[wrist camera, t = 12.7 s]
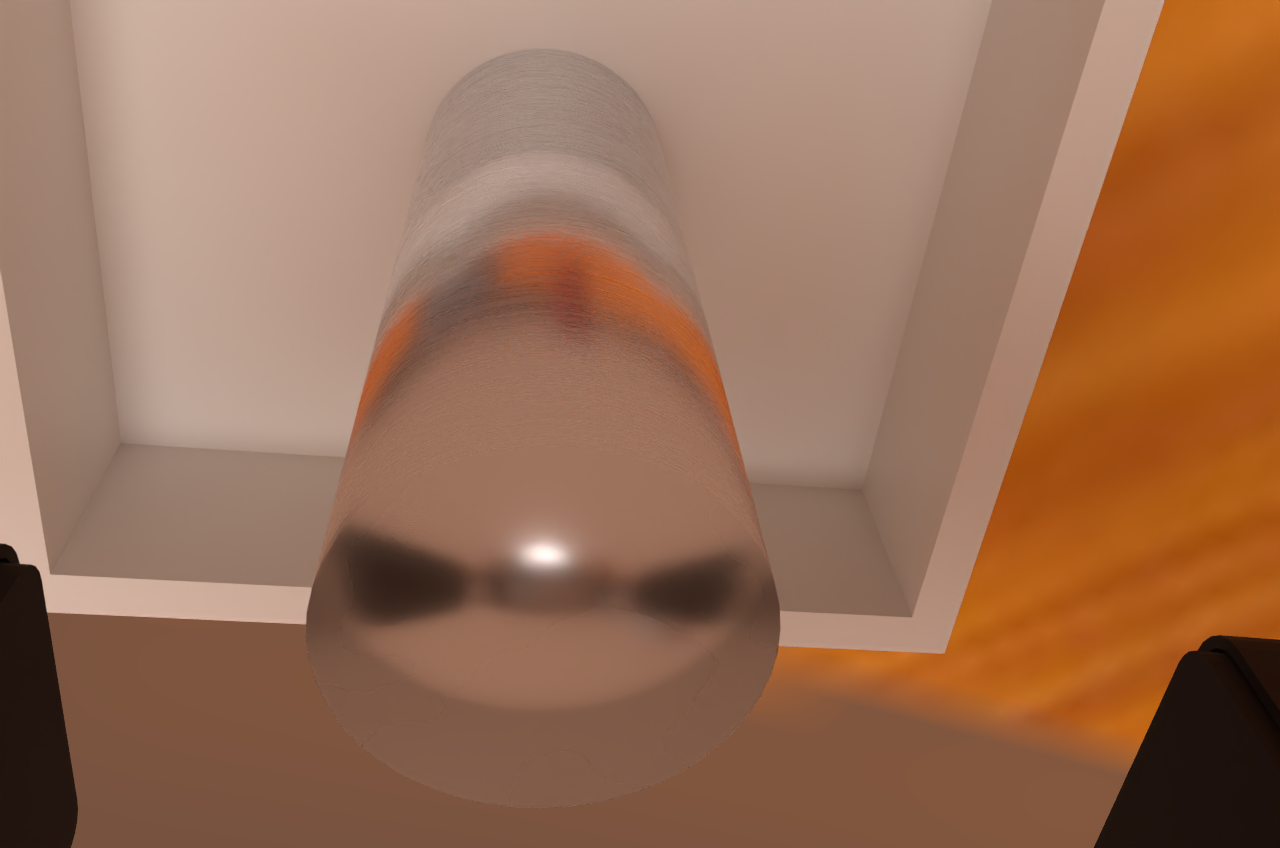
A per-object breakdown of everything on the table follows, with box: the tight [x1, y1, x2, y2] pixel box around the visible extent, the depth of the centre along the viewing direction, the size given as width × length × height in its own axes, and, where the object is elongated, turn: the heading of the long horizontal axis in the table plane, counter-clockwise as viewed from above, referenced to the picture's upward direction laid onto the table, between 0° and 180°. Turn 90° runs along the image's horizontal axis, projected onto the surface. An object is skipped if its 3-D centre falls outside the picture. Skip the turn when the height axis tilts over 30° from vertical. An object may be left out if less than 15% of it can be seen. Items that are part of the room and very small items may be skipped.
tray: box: [0, 0, 1165, 654], centre depth 19 cm, size 16×14×4 cm
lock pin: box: [306, 48, 781, 808], centre depth 15 cm, size 4×4×12 cm
